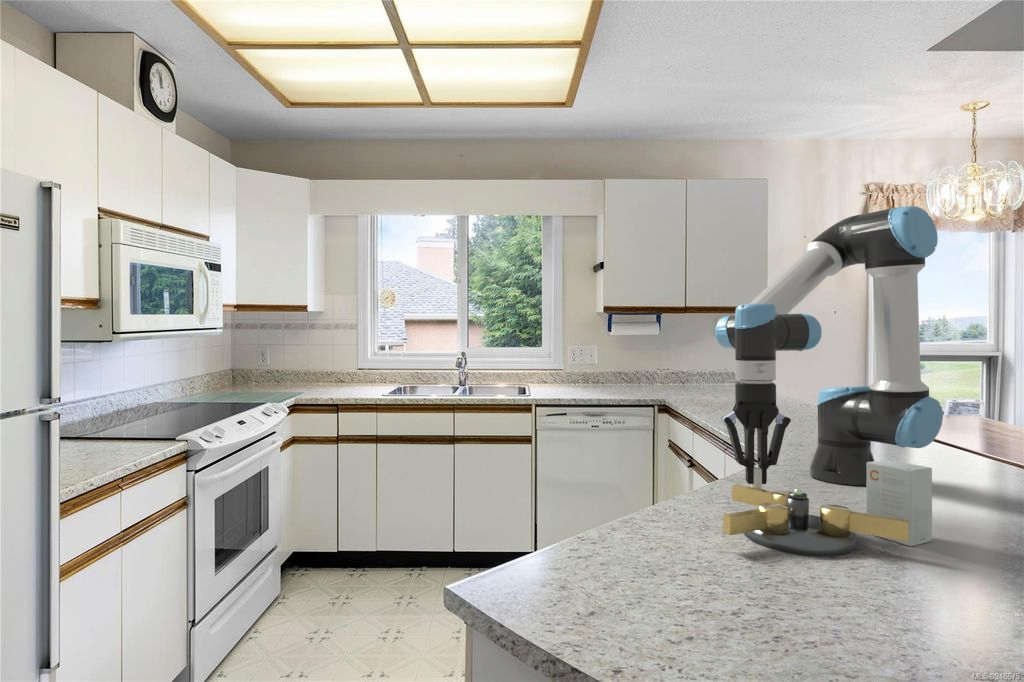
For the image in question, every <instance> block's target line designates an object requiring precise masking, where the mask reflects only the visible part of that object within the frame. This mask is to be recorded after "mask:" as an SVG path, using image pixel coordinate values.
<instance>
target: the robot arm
mask: <svg viewBox="0 0 1024 682" xmlns="http://www.w3.org/2000/svg"><path fill="white" fill-rule="evenodd" d="M938 242H939V241H938V231H937V227H936V224H935V222H934V220H933V218H932V216H930V215H929V213H928V212H927V211H926V210H925V209H924V208H922V207H920V206H915V205H908V206H897V207H892V208H887V209H882V210H877V211H874V212H873V211H871V212H868V213H862V214H856V215H852V216H848V217H846V218H844V219H842V220H840V221H838V222H835V224H833V225H831V226H830V227H829V228H827V229H825V230H824V231H822V232H821V233H819V235H817V236H816V237H815V238H814V239H812V240H811V241H810V242H809V243H808V244H807V245H806V246H805V247H804V250H803V254H802V255H801V256H800V257H799V258H798V259H797V260H795V262H793V263H792V264H791V265H790V266H789V267H788V268H787V269H786V270H785V271H784V272H783V273H782V274H781V275H779V276H778V277H777V278H776V279H775V280H774V281H773V282H772V283H770V284H769V285H768V286H767V287H766V288H765V289H764V290H763V291H762V292H761V293H760V294H758V295H757V296H756V297H755V298H754V299H753V300H752V301H751V302H750V303H744V304H740V305H737V307H736V308H735V312H734V313H735V315H734V314H732V315H731V314H730V315H728V316H727V315H726V316H723V317H721V318H720V319H719V320H718V321H717V323H716V325H715V328H714V329H715V330H714V333H715V338H716V340H717V342H718V344H719V345H720V346H722V347H723V348H725V349H734V352H735V356H734V357H735V360H734V361H735V363H734V366H735V367H734V371H735V372H734V373H735V375H734V378H735V380H737V381H738V382H736V383H735V386H734V388H735V390H734V392H735V396H734V397H735V398H734V399H735V401H734V402H735V404H734V406H733V408H732V412H730V413H729V414H727V415H723V416H721V422H723V424H724V425H725V426H726V428H727V433H728V437H729V439H730V444H731V448H732V451H733V456H734V460H735V462H736V463H737V464H739V465H740V466H744V468H745V482H746V483H747V484H748V485H750V487H753V488H758V489H763V485H767V481H768V472H767V471H768V469H769V468H770V467H771V466H776V465H777V464H778V459H779V457H780V453H781V449H782V444H783V441H784V440H783V439H784V436H785V432H786V429H787V428H788V426H789V424H790V423H791V419H792V418H790V417H788V416H786V415H784V414H782V413H781V412H780V410H779V407H778V406H777V384H776V383H774V382H773V381H775V380H776V379H777V370H776V369H777V365H776V364H777V363H776V362H777V361H776V360H777V351H779V352H781V351H782V352H783V351H784V352H785V351H787V352H789V351H798V352H802V351H806V350H811V349H813V348H815V347H816V346H817V345H818V344H819V342H820V340H821V338H822V326H821V323H820V322H819V320H818V319H817V318H816V317H815V316H813V315H811V314H803V313H790V312H792V310H793V309H795V308H796V307H797V306H798V305H799V304H800V303H801V302H802V301H803V300H804V299H805V298H806V297H807V296H809V294H810V293H811V292H813V290H815V288H817V287H818V286H819V285H820V284H821V283H822V282H823V281H824V280H825V279H827V278H828V277H831V276H835V275H836V274H838V273H840V271H841V270H842V269H844V268H847V267H850V266H854V265H861V264H864V271H865V272H866V273H868V275H870V276H871V277H872V287H873V288H872V291H873V292H872V293H873V317H874V318H873V319H874V346H875V347H874V348H875V374H876V375H875V376H876V380H875V381H874V382H873V383H872V384H871V385H863V386H846V387H845V386H843V387H824V388H822V389H820V391H819V393H818V397H817V398H818V401H817V446H816V450H815V453H814V455H813V458H812V461H811V463H810V467H809V476H810V475H811V476H812V477H811V476H810V477H811V478H813V477H814V479H815V478H816V480H818V479H819V481H823V482H827V483H832V484H837V485H846V484H847V485H848V486H866V482H867V462H873V461H875V458H874V455H873V453H872V447H871V443H872V442H874V443H881V444H886V445H892V446H897V447H900V448H910V449H911V448H912V449H922V448H925V447H927V446H929V445H931V444H932V443H933V442H934V441H935V440H936V437H937V436H938V435H939V433H940V431H941V428H942V424H943V417H944V413H943V412H944V411H943V408H942V406H941V403H940V402H939V400H938V399H937V398H934V397H931V396H930V387H929V385H927V384H925V383H924V382H923V380H921V378H922V376H921V373H922V372H921V348H920V342H921V341H920V315H919V310H920V309H919V287H918V286H919V285H918V283H919V282H918V281H919V279H918V274H919V273H920V272H921V271H922V270H923V269H924V268H925V267H926V258H928V257H929V256H932V255H933V254H934V253H935V252H936V248H937V245H938ZM737 419H738V421H739V422H740V424H741V425H742V426H743V432H744V442H743V443H744V444H743V445H744V452H743V447H742V445H741V441H740V437H739V433H738V429H737V426H736V424H737ZM773 421H774V422H775V424H774V429H773V432H772V436H771V440H770V445H769V448H768V436H769V435H768V434H769V427H770V426H771V424H772V423H773ZM755 434H756V435H757V436H756V437H757V438H756V441H757V442H756V443H757V448H756V449H757V450H756V452H757V457H756V458H757V459H756V460H757V465H755ZM847 485H846V486H847Z"/></svg>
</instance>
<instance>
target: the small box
mask: <svg viewBox="0 0 1024 682" xmlns="http://www.w3.org/2000/svg"><path fill="white" fill-rule="evenodd" d="M865 487H866V490H865V491H866V502H865V505H866V506H865V507H866V508H865V510H866V511H865V514H872V515H878V516H885V517H891V518H898V519H905V520H909V540H908V541H904V540H898V539H892V538H886V537H880V536H877V537H879V538H882V539H885V540H889V541H891V542H895V543H899V544H902V545H905V546H908V547H913V546H919V545H923V544H925V543H929V542H932V540H933V468H932V467H928V466H924V465H918V464H914V463H913V464H912V463H908V462H901V461H897V460H892V459H891V460H890V459H883V460H874V461H873V462H867V482H866V485H865Z"/></svg>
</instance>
